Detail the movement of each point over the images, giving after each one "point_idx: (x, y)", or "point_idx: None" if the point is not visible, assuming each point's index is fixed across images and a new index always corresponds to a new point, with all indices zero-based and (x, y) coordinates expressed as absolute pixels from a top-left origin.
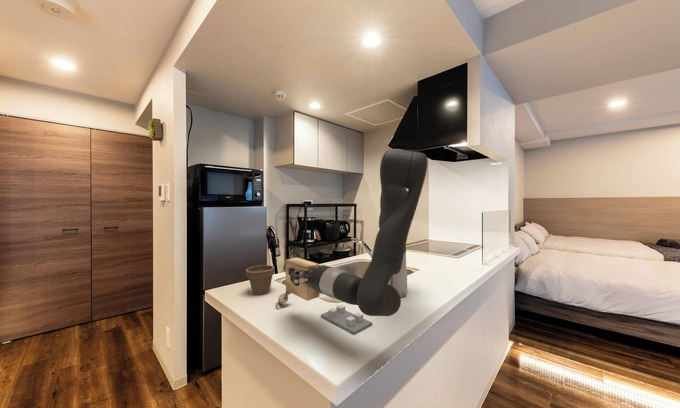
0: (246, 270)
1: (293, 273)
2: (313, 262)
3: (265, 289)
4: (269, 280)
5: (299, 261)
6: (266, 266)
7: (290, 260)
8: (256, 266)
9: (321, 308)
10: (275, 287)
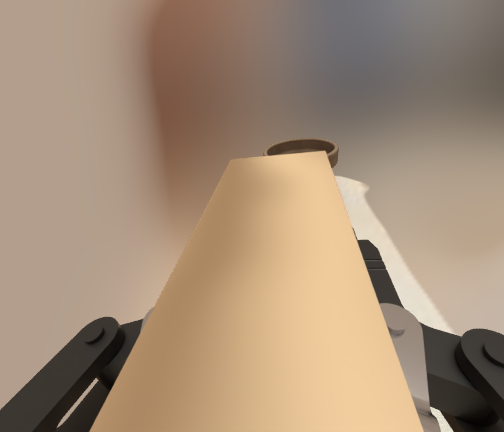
0: (266, 148)
1: (36, 396)
2: (397, 362)
3: None
4: None
5: (267, 214)
6: (325, 143)
7: (241, 174)
8: (302, 139)
9: (436, 414)
10: (342, 199)
